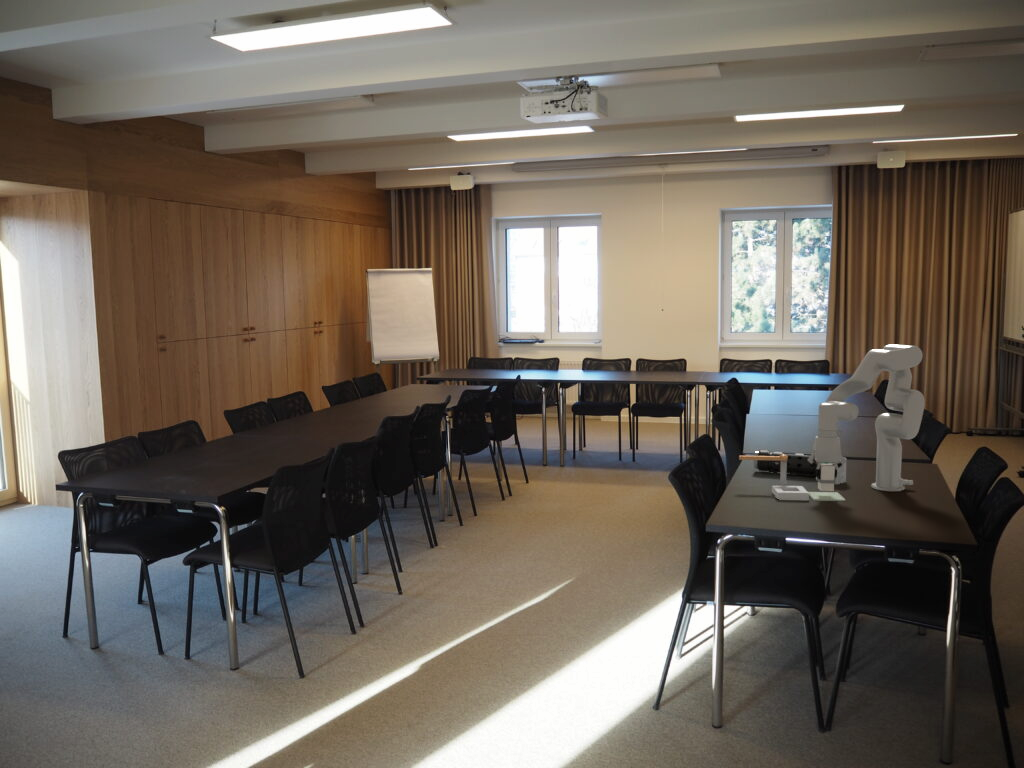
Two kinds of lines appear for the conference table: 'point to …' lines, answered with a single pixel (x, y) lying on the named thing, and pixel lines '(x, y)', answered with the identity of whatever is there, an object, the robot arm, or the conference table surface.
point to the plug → (826, 477)
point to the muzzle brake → (794, 464)
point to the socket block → (788, 488)
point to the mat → (826, 496)
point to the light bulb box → (839, 473)
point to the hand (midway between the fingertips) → (826, 478)
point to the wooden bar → (765, 458)
